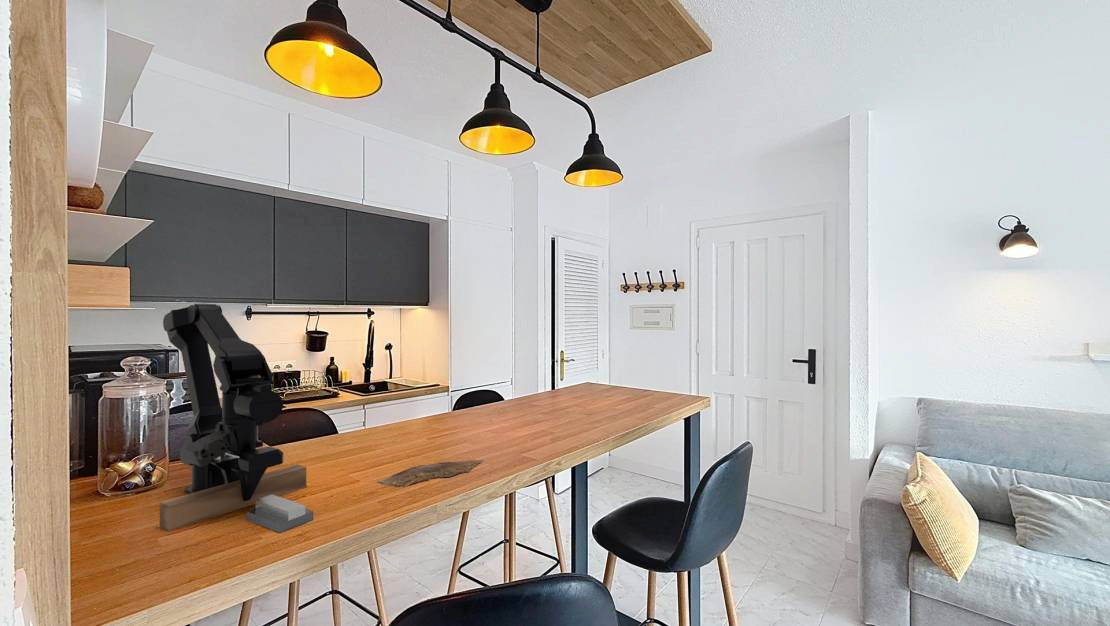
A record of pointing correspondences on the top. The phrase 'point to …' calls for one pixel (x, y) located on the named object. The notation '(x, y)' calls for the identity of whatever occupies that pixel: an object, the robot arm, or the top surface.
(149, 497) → the top surface
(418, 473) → the wooden fragment
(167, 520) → the walnut bar
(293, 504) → the grey flat stepped block
